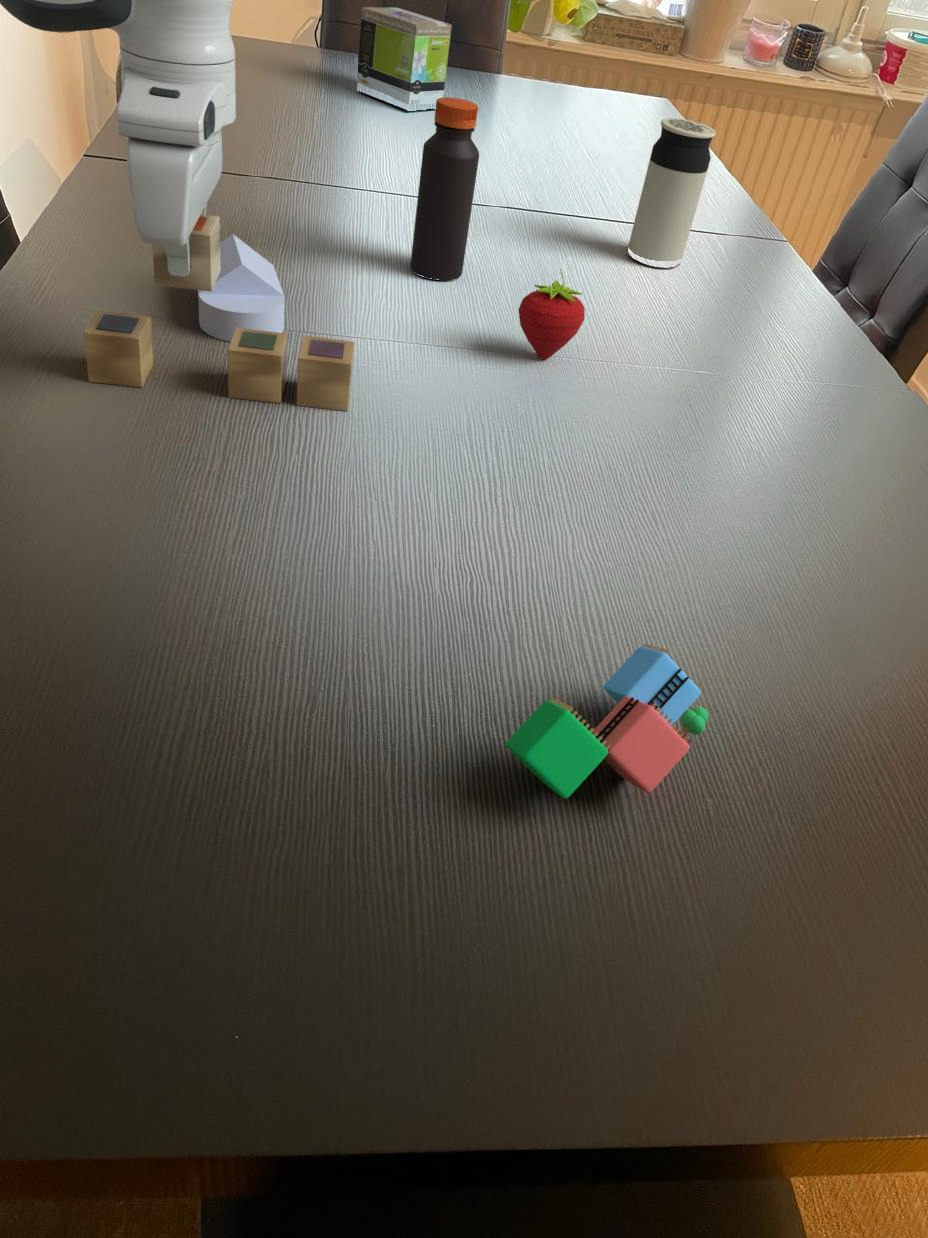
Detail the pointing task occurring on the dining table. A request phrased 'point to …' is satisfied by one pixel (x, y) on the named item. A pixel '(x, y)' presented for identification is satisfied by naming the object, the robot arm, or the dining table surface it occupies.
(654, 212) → the travel mug
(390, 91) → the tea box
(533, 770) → the building blocks
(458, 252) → the bottle
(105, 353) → the beech block
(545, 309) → the strawberry
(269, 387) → the beech block
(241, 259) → the wedge on round base
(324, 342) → the beech block
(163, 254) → the maple block
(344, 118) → the dining table surface
